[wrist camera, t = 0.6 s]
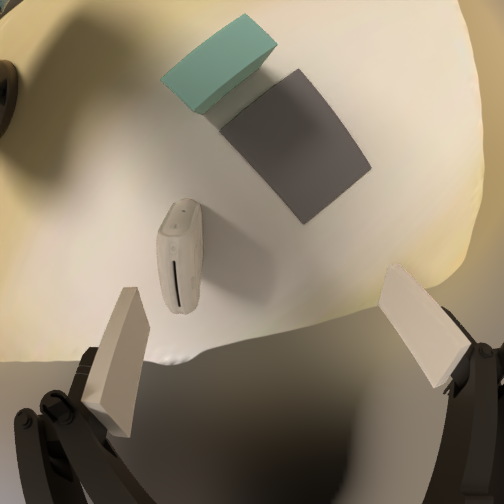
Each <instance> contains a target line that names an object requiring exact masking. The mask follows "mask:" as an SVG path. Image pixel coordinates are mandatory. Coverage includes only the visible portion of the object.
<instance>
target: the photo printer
mask: <svg viewBox="0 0 504 504" xmlns="http://www.w3.org/2000/svg"><path fill="white" fill-rule="evenodd" d="M202 262H203V232H202V212H201V207H200V203H196V202H195V201H194V200H191V199H182V200H180V201H178V202H177V203H174V204H173V205H172V206H171V208H170V210H169V211H168V213H167V215H166V217H165V219H164V220H163V222H162V224H161V226H160V228H159V230H158V235H157V263H158V272H159V279H160V285H161V290H162V294H163V298H164V301H165V303H166V305H167V307H168V308H169V310H170V311H171V312H173V313H175V314H179V313H182V314H188V313H191V312H192V311H194V310H195V309H196V307H197V305H198V302H199V296H200V282H201V271H202Z"/></svg>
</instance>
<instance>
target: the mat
mask: <svg viewBox="0 0 504 504" xmlns="http://www.w3.org/2000/svg"><path fill="white" fill-rule="evenodd" d="M219 132H220V133H221V134H222V135H223V136H224V137H225V138H226V139H227V140H228V141H229V142H230V143H231V144H232V145H233V146H234V147H235V148H236V149H237V150H238V152H239V153H240V154H241V155H242V156H243V157H244V158H245V159H246V160H247V161H248V162H249V163H250V164H251V165H252V167H253V168H254V169H255V170H256V171H257V172H258V173H259V174H260V175H261V176H262V178H263V179H264V180H265V181H266V182H267V183H268V184H269V185H270V186H271V188H272V189H273V190H274V191H275V192H276V193H277V194H278V195H279V197H280V198H281V199H282V200H283V201H284V202H285V203H286V205H287V206H288V207H289V208H290V209H291V210H292V212H293V213H294V214H295V215H296V216H297V217H298V219H299V220H300V221H301V222H302V223H303V224H305V223H306V222H307V221H309V220H310V219H311V218H312V217H313V216H315V215H316V214H317V213H318V212H319V211H321V210H322V209H323V208H324V207H325V206H327V205H328V204H329V203H330V202H331V201H333V200H334V199H335V198H336V197H337V196H339V195H340V194H341V193H342V192H343V191H345V190H346V189H347V188H348V187H349V186H351V185H352V184H353V183H354V182H355V181H357V180H358V179H359V178H360V177H361V176H362V175H364V174H365V173H366V172H367V171H368V170H370V169H371V166H370V164H369V163H368V161H367V160H366V158H365V156H364V155H363V153H362V152H361V150H360V149H359V147H358V146H357V144H356V143H355V141H354V140H353V138H352V137H351V135H350V134H349V132H348V131H347V129H346V128H345V126H344V125H343V124H342V122H341V121H340V119H339V118H338V117H337V115H336V114H335V113H334V111H333V110H332V109H331V107H330V106H329V105H328V103H327V102H326V101H325V100H324V98H323V97H322V96H321V94H320V93H319V92H318V91H317V90H316V88H315V87H314V86H313V85H312V83H311V82H310V81H309V80H308V79H307V78H306V76H305V75H304V74H303V73H302V72H301V71H300V69H297V70H296V71H294V72H293V73H291V74H290V75H289V76H287V77H286V78H284V79H283V80H282V81H280V82H279V83H278V84H276V85H275V86H274V87H272V88H271V89H270V90H268V91H267V92H266V93H265V94H263V95H262V96H261V97H259V98H258V99H257V100H256V101H254V102H253V103H252V104H251V105H250V106H248V107H247V108H246V109H245V110H243V111H242V112H241V113H240V114H239V115H237V116H236V117H235V118H234V119H233V120H232V121H230V122H229V123H228V124H227V125H226V126H225V127H224V128H222V129H221V130H220V131H219Z"/></svg>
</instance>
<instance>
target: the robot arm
mask: <svg viewBox="0 0 504 504" xmlns="http://www.w3.org/2000/svg"><path fill="white" fill-rule="evenodd" d="M8 2H9V0H0V14H2V13H3V11H4V9H5V6H6V5H7V3H8ZM17 90H18V80H17V73H16V70H15V68H14V66H13V65H12V63H11V62H9V61H7V60H0V137H1V136H2V135H3V133H4V132H5V130H6V128H7V126H8V124H9V122H10V120H11V117H12V114H13V111H14V108H15V104H16V98H17ZM378 305H379V307H380V308H381V310H382V311H383V312H384V314H385V315H386V317H387V318H388V319H389V321H390V322H391V324H392V325H393V327H394V328H395V329H396V331H397V332H398V334H399V335H400V337H401V338H402V340H403V341H404V343H405V344H406V346H407V347H408V348H409V350H410V352H411V353H412V355H413V356H414V358H415V359H416V361H417V363H418V364H419V366H420V367H421V369H422V370H423V372H424V374H425V375H426V376H427V378H428V380H429V382H430V383H431V385H432V387H433V388H436V387H438V386H440V385H442V384H444V383H445V382H446V381H447V379H448V378H449V377H450V375H451V377H452V378H453V380H452V381H451V382H450V384H449V385H448V386H447V388H446V389H445V390H444V393H443V394H446V392H447V391H448V390H449V389H450V391H449V393H448V395H449V399H448V406H447V413H446V419H445V425H444V430H443V435H442V440H441V444H440V449H439V452H438V456H437V460H436V464H435V467H434V471H433V474H432V477H431V481H430V483H429V486H428V490H427V492H426V495H425V498H424V500H423V503H422V504H504V384H503V385H501V380H502V379H503V378H504V343H503V344H502V346H501V347H500V348H497V349H492V348H491V347H490V346H489V345H488V344H486V343H478V344H477V343H476V342H475V340H474V339H473V338H472V337H471V335H470V334H469V333H468V332H467V331H466V330H465V328H464V327H463V326H462V325H460V322H459V321H458V320H456V318H455V317H454V316H453V314H452V313H451V312H450V311H448V310H447V309H445V308H444V307H440V306H439V305H438V304H437V303H436V301H435V300H434V299H433V298H432V297H431V296H430V295H429V294H428V293H427V292H426V291H425V290H424V289H423V287H422V286H421V285H420V284H419V283H418V282H417V281H416V280H415V279H414V278H413V277H412V276H411V275H410V274H409V273H408V272H407V271H406V270H405V269H404V268H403V267H402V266H401V265H400V264H392V265H388V269H387V273H386V277H385V280H384V284H383V288H382V291H381V295H380V298H379V302H378ZM149 332H150V326H149V323H148V320H147V317H146V314H145V311H144V308H143V304H142V301H141V298H140V295H139V291H138V288H137V287H125V288H123V289H122V292H121V294H120V296H119V298H118V301H117V303H116V305H115V308H114V310H113V312H112V315H111V317H110V320H109V322H108V325H107V327H106V330H105V332H104V335H103V337H102V340H101V342H100V345H99V347H89V348H88V350H87V351H86V352H85V353H84V354H83V355H82V358H81V361H80V363H79V367H78V368H77V371H76V374H75V377H74V380H73V382H72V385H71V388H70V391H69V394H68V396H67V395H66V394H65V393H63V392H62V391H60V390H53V391H50V392H48V393H47V394H45V395H44V397H43V398H42V400H41V403H40V412H41V413H42V415H37V414H36V413H35V412H34V411H33V410H31V409H29V408H24V409H22V410H20V411H19V412H18V413H17V414H16V416H15V419H14V432H15V444H16V453H17V461H18V468H19V474H20V479H21V485H22V489H23V494H24V497H25V501H26V504H88V503H87V500H86V498H85V495H84V492H83V489H82V486H81V483H82V485H83V487H84V489H85V490H86V492H87V493H88V495H89V497H90V498H91V500H92V501H93V503H94V504H157V503H156V502H155V501H154V500H153V499H152V498H151V497H150V496H149V494H148V493H147V492H146V491H145V490H144V488H143V487H142V486H141V485H140V483H139V482H138V481H137V480H136V478H135V477H134V476H133V474H132V473H131V472H130V470H129V469H128V468H127V466H126V465H125V464H124V462H123V461H122V459H121V458H120V457H119V455H118V454H117V452H116V451H115V449H114V448H113V446H112V445H111V443H110V441H109V440H108V439H107V438H106V434H107V430H108V431H109V432H110V433H111V434H112V435H113V436H120V437H128V438H130V432H131V426H132V419H133V413H134V406H135V399H136V395H137V389H138V384H139V378H140V373H141V368H142V363H143V359H144V354H145V349H146V345H147V340H148V336H149ZM80 482H81V483H80Z"/></svg>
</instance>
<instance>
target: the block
mask: <svg viewBox="0 0 504 504" xmlns="http://www.w3.org/2000/svg"><path fill="white" fill-rule="evenodd" d="M277 45H278V44H277V43H276V42H275V41H274V40H273V39H272V38H271V37H270V36H269V35H268V34H267V33H266V32H265V31H264V30H263V29H262V28H261V27H260V26H259V25H258V24H256V23H255V22H254V21H253V20H252V19H251V18H250V17H249V16H248V15H246V14H243V15H242V16H240V17H239V18H237V19H236V20H234V21H233V22H231V23H230V24H228V25H227V26H225V27H224V28H222V29H221V30H220V31H218V32H217V33H215V34H214V35H213V36H211V37H210V38H209V39H207V40H206V41H205V42H203V43H202V44H201V45H200V46H198V47H197V48H196V49H195V50H193V51H192V52H191V53H190V54H188V55H187V56H186V57H185V58H184V59H182V60H181V61H180V62H179V63H178V64H177V65H176V66H174V67H173V68H172V69H171V70H170V71H169V72H168V73H167V74H166V75H165V76H163V77H162V78H161V79H160V80H161V81H162V82H163V83H164V84H165V85H166V86H167V87H168V88H169V89H170V90H171V91H172V92H173V93H175V94H176V95H177V96H178V97H179V98H180V99H181V100H182V101H183V102H184V103H185V104H186V105H187V106H188V107H189V108H190V109H191V110H192V111H194V112H197V113H199V114H202V115H203V114H204V113H205V112H206V111H207V110H208V109H210V108H211V107H212V106H213V105H214V104H215V103H216V102H218V101H219V100H220V99H221V98H222V97H224V96H225V95H226V94H227V93H228V92H230V91H231V90H232V89H233V88H234V87H236V86H237V85H238V84H239V83H241V82H242V81H243V80H245V79H246V78H247V77H248V76H250V75H251V74H252V73H254V72H255V71H256V70H258V69H259V67H260V66H261V65H262V63H263V62H264V61H265V60H266V58H267V57H268V56H269V55H270V53H271V52H272V51H273V49H274V48H275V47H276V46H277Z"/></svg>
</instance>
